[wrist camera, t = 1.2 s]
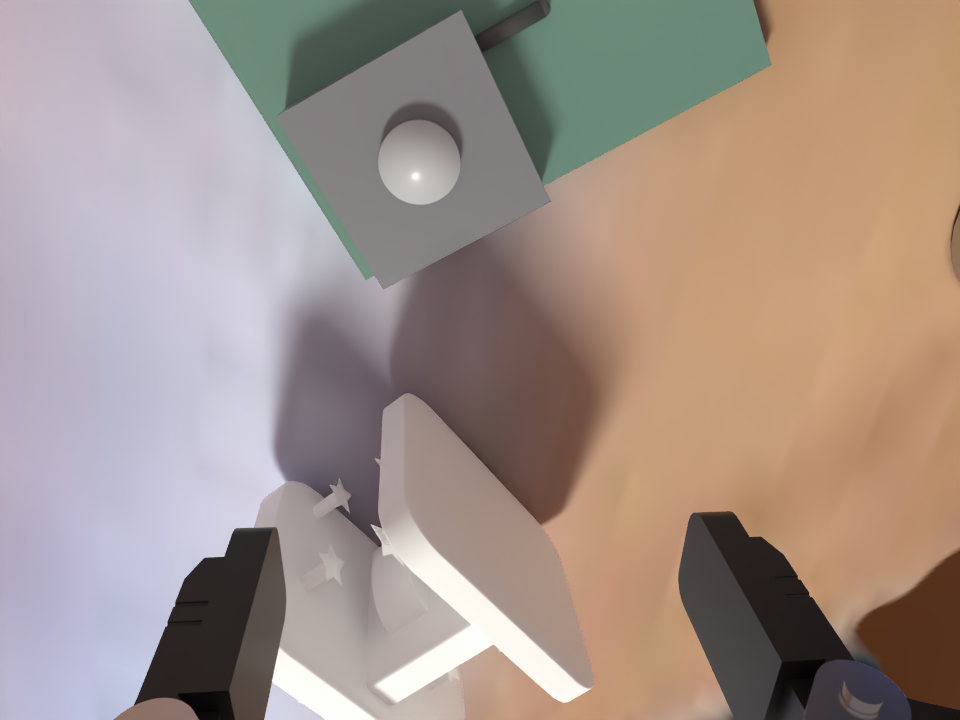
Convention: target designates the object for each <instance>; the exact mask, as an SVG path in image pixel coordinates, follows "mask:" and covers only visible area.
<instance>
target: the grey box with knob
mask: <svg viewBox="0 0 960 720" xmlns="http://www.w3.org/2000/svg"><path fill="white" fill-rule="evenodd" d="M276 118H277V120H278V122H279V123H280V125H281V126H282V128H283V130H284V131H285V133H286V134H287V136H288V138H289V139H290V141H291V142H292V144H293V146H294V147H295V149H296V150H297V152H298V154H299V155H300V157H301V158H302V160H303V162H304V163H305V165H306V166H307V168H308V170H309V171H310V173H311V174H312V176H313V178H314V179H315V181H316V182H317V184H318V186H319V187H320V189H321V190H322V192H323V194H324V195H325V197H326V198H327V200H328V202H329V203H330V205H331V206H332V208H333V210H334V211H335V213H336V214H337V216H338V218H339V219H340V221H341V222H342V224H343V226H344V227H345V229H346V230H347V232H348V234H349V235H350V237H351V238H352V240H353V242H354V243H355V245H356V246H357V248H358V250H359V251H360V253H361V254H362V256H363V258H364V259H365V261H366V262H367V264H368V266H369V267H370V269H371V270H372V272H373V274H374V275H375V277H376V278H377V280H378V282H379V283H380V285H381V286H382V288H383V289H385V288H387V287H389V286H391V285H393V284H395V283H396V282H398V281H400V280H402V279H404V278H406V277H408V276H410V275H412V274H414V273H416V272H417V271H419V270H421V269H423V268H425V267H427V266H429V265H431V264H433V263H435V262H436V261H438V260H440V259H442V258H444V257H446V256H448V255H450V254H452V253H454V252H455V251H457V250H459V249H461V248H463V247H465V246H467V245H469V244H471V243H473V242H474V241H476V240H478V239H480V238H482V237H484V236H486V235H488V234H490V233H492V232H493V231H495V230H497V229H499V228H501V227H503V226H505V225H507V224H509V223H511V222H512V221H514V220H516V219H518V218H520V217H522V216H524V215H526V214H528V213H530V212H531V211H533V210H535V209H537V208H539V207H541V206H543V205H545V204H547V203H549V202H550V199H549V197H548V194H547V192H546V190H545V188H544V186H543V184H542V182H541V179H540V177H539V175H538V173H537V171H536V169H535V167H534V164H533V162H532V160H531V158H530V156H529V154H528V152H527V149H526V147H525V145H524V143H523V141H522V139H521V136H520V134H519V132H518V130H517V128H516V126H515V124H514V121H513V119H512V117H511V115H510V113H509V111H508V109H507V106H506V104H505V102H504V100H503V98H502V96H501V94H500V91H499V89H498V87H497V85H496V83H495V81H494V79H493V76H492V74H491V72H490V70H489V68H488V66H487V64H486V61H485V59H484V57H483V55H482V53H481V51H480V48H479V46H478V44H477V42H476V40H475V38H474V36H473V33H472V31H471V29H470V27H469V25H468V23H467V21H466V18H465V16H464V14H463V12H462V10H455V11H453V12H452V13H450V14H448V15H446V16H445V17H443V18H441V19H439V20H438V21H436V22H434V23H432V24H431V25H429V26H427V27H425V28H424V29H422V30H420V31H419V32H417V33H415V34H413V35H412V36H410V37H408V38H406V39H405V40H403V41H401V42H399V43H398V44H396V45H394V46H392V47H391V48H389V49H387V50H385V51H384V52H382V53H380V54H379V55H377V56H375V57H373V58H372V59H370V60H368V61H366V62H365V63H363V64H361V65H359V66H358V67H356V68H354V69H352V70H351V71H349V72H347V73H346V74H344V75H342V76H340V77H339V78H337V79H335V80H333V81H332V82H330V83H328V84H326V85H325V86H323V87H321V88H319V89H318V90H316V91H314V92H312V93H311V94H309V95H307V96H306V97H304V98H302V99H300V100H299V101H297V102H295V103H293V104H292V105H290V106H288V107H286V108H285V109H284V110H283V111H281V112H280V113H279V114H278V115H277V116H276Z"/></svg>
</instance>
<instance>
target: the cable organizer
mask: <svg viewBox="0 0 960 720" xmlns="http://www.w3.org/2000/svg"><path fill="white" fill-rule="evenodd" d="M375 460H376V462H377V463H378V465H379V466H380V480H379V501H378V514H379V519H380V523H381V526H382V528H379V527H377V526H374V525H372V524H370V525H371V526H372V528H373V529H374V531H375V533H376V534H377V536H378V537H379V539H380V540H381V542H382V546H381V547H378V546H377V545H376V544H375V543H374V542H373V541H372V540H371V539H369V538H368V537H367V536H366V535H365V534H364V533H363V532H362V531H360V530H359V529H358V528H357V527H356V526H355V525H354V524H353V523H351V522H350V521H349V520H348V519H347V518H346V517H345V516H344V515H342V514H341V513H340V512H339V511H338V510H337V509H336V507H338V506H340V505H343V506H344V507H345V509H346V510H347V511H348V512H349V513H350V511H349V507H348V502H347V501H348V499H349V498H350V497H351V494H350V493H348V492H347V491H345V490H344V488H343V486H342V483H341V480H340V478H339V480H338V484H337V486H334V485H330V484H329V485H330V487H331V489H332V490H333V493H332V494H330V495H329V496H327V497H326V498H323V497H322V496H321V495H320V494H319V493H318V492H316V491H315V490H314V489H312V488H311V487H309V486H307V485H305V484H303V483H301V482H297V481H288V482H286V483H285V484H283V485H282V486H280V487H279V488H278V489H276V490H275V491H274V492H272V493H271V494H269V495H268V496H267V497H265V498H264V499H263V500H262V503H261V505H260V509H259V512H258V516H257V519H256V523H255V526H254V528H261V527H276V528H277V530H278V534H279V541H280V548H281V555H282V563H283V570H284V578H285V585H286V613H285V621H284V626H283V631H282V636H281V640H280V645H279V650H278V655H277V659H276V664H275V669H274V674H273V679H272V682H273V683H274V684H276V685H277V686H278V687H280V688H281V689H283V690H284V691H286V692H287V693H288V694H290V695H291V696H293V697H294V698H296V699H297V700H298V702H299V703H303V704H304V705H306V706H307V707H308V708H310V709H311V710H313V711H314V712H316V713H317V714H318V715H320V716H321V717H323V718H324V719H326V720H466V717H465V706H464V695H463V683H462V672H461V664H462V663H463V662H465V661H467V660H468V659H470V658H472V657H473V656H475V655H476V654H478V653H480V652H481V651H483V650H485V649H486V648H488V647H490V646H491V645H493V644H494V645H495V646H496V647H497V648H498V649H499V652H500V651H502V652H503V653H504V654H505V655H506V656H507V657H508V658H509V659H511V660H512V661H513V662H514V663H515V664H516V665H517V666H518V667H520V668H521V669H522V670H523V671H524V672H525V673H526V674H527V675H528V676H530V677H531V678H532V679H533V680H534V681H535V682H536V683H537V684H539V685H540V686H541V687H542V688H543V689H544V690H545V691H546V692H548V693H549V694H550V695H551V696H552V697H554V698H555V699H557V700H559V701H561V702H569V701H571V700H572V699H574V698H576V697H578V696H579V695H581V694H583V693H585V692H586V691H588V690H590V689H591V688H592V687H593V685H594V675H593V670H592V667H591V663H590V660H589V656H588V653H587V649H586V646H585V642H584V639H583V635H582V632H581V628H580V625H579V621H578V618H577V614H576V611H575V607H574V604H573V600H572V597H571V593H570V590H569V586H568V583H567V579H566V576H565V572H564V569H563V565H562V562H561V559H560V556H559V554H558V552H557V550H556V548H555V546H554V544H553V542H552V541H551V539H550V537H549V536H548V534H547V533H546V532H545V530H544V529H543V528H542V526H541V525H540V524H539V523H538V522H537V520H536V519H535V518H534V517H533V516H532V515H531V514H530V513H529V512H528V511H527V510H526V509H525V508H524V507H523V505H522V504H521V503H520V502H519V501H518V500H517V499H516V498H515V497H514V496H513V495H512V494H511V493H510V492H509V491H508V490H507V488H506V487H505V486H504V485H503V484H502V483H501V482H500V481H499V480H498V479H497V478H496V477H495V476H494V475H493V474H492V473H491V471H490V470H489V469H488V468H487V467H486V466H485V465H484V464H483V463H482V462H481V461H480V460H479V459H478V458H477V457H476V455H475V454H474V453H473V452H472V451H471V450H470V449H469V448H468V447H467V446H466V445H465V444H464V443H463V442H462V441H461V440H460V438H459V437H458V436H457V435H456V434H455V433H454V432H453V431H452V430H451V429H450V428H449V427H448V426H447V425H446V424H445V423H444V421H443V420H442V419H441V418H440V417H439V416H438V415H437V414H436V413H435V412H434V411H433V410H432V409H431V408H430V407H429V406H428V405H427V404H426V403H425V402H424V401H422V400H421V399H420V398H418V397H417V396H415V395H413V394H410V393H405V394H404V395H402V396H401V397H399V398H398V399H397V400H395V401H394V402H392V403H391V404H390V405H388V406H387V407H385V408H384V410H383V417H382V438H381V459H380V460H379V459H377V458H375Z"/></svg>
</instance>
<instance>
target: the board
mask: <svg viewBox="0 0 960 720" xmlns="http://www.w3.org/2000/svg"><path fill="white" fill-rule="evenodd" d="M189 2H190V3H191V5H192V6H193V8H194V9H195V11H196V13H197V14H198V16H199V17H200V19H201V20H202V22H203V24H204V25H205V27H206V28H207V30H208V31H209V33H210V35H211V36H212V38H213V39H214V41H215V43H216V44H217V46H218V47H219V49H220V50H221V52H222V54H223V55H224V57H225V58H226V60H227V61H228V63H229V65H230V66H231V68H232V69H233V71H234V73H235V74H236V76H237V77H238V79H239V80H240V82H241V84H242V85H243V87H244V88H245V90H246V91H247V93H248V95H249V96H250V98H251V99H252V101H253V103H254V104H255V106H256V107H257V109H258V110H259V112H260V114H261V115H262V117H263V118H264V120H265V121H266V123H267V125H268V126H269V128H270V129H271V131H272V132H273V134H274V136H275V137H276V139H277V140H278V142H279V144H280V145H281V147H282V148H283V150H284V151H285V153H286V155H287V156H288V158H289V159H290V161H291V162H292V164H293V166H294V167H295V169H296V170H297V172H298V174H299V175H300V177H301V178H302V180H303V181H304V183H305V185H306V186H307V188H308V189H309V191H310V192H311V194H312V196H313V197H314V199H315V200H316V202H317V204H318V205H319V207H320V208H321V210H322V211H323V213H324V215H325V216H326V218H327V219H328V221H329V222H330V224H331V226H332V227H333V229H334V230H335V232H336V233H337V235H338V237H339V238H340V240H341V241H342V243H343V245H344V246H345V248H346V249H347V251H348V252H349V254H350V256H351V257H352V259H353V260H354V262H355V263H356V265H357V267H358V268H359V270H360V271H361V273H362V275H363V276H364V278H365V279H366V280H367V279H369V278H370V277H372V276H374V274H373V272H372V270H371V269H370V267H369V266H368V264H367V262H366V261H365V259H364V258H363V256H362V254H361V253H360V251H359V250H358V248H357V246H356V245H355V243H354V242H353V240H352V238H351V237H350V235H349V234H348V232H347V230H346V229H345V227H344V226H343V224H342V222H341V221H340V219H339V218H338V216H337V214H336V213H335V211H334V210H333V208H332V206H331V205H330V203H329V202H328V200H327V198H326V197H325V195H324V194H323V192H322V190H321V189H320V187H319V186H318V184H317V182H316V181H315V179H314V178H313V176H312V174H311V173H310V171H309V170H308V168H307V166H306V165H305V163H304V162H303V160H302V158H301V157H300V155H299V154H298V152H297V150H296V149H295V147H294V146H293V144H292V142H291V141H290V139H289V138H288V136H287V134H286V133H285V131H284V130H283V128H282V126H281V125H280V123H279V122H278V120H277V118H276V116H277V115H278V114H279V113H280V112H281V111H283V110H284V109H285V108H286V107H288V106H290V105H292V104H293V103H295V102H297V101H299V100H300V99H302V98H304V97H306V96H307V95H309V94H311V93H312V92H314V91H316V90H318V89H319V88H321V87H323V86H325V85H326V84H328V83H330V82H332V81H333V80H335V79H337V78H339V77H340V76H342V75H344V74H346V73H347V72H349V71H351V70H352V69H354V68H356V67H358V66H359V65H361V64H363V63H365V62H366V61H368V60H370V59H372V58H373V57H375V56H377V55H379V54H380V53H382V52H384V51H385V50H387V49H389V48H391V47H392V46H394V45H396V44H398V43H399V42H401V41H403V40H405V39H406V38H408V37H410V36H412V35H413V34H415V33H417V32H419V31H420V30H422V29H424V28H425V27H427V26H429V25H431V24H432V23H434V22H436V21H438V20H439V19H441V18H443V17H445V16H446V15H448V14H450V13H452V12H453V11H455V10H462V12H463V14H464V16H465V18H466V21H467V23H468V25H469V27H470V29H471V31H472V33H473V36H474V38H475V40H476V42H477V44H478V46H479V48H480V51H481V53H482V55H483V57H484V59H485V61H486V64H487V66H488V68H489V70H490V72H491V74H492V76H493V79H494V81H495V83H496V85H497V87H498V89H499V91H500V94H501V96H502V98H503V100H504V102H505V104H506V106H507V109H508V111H509V113H510V115H511V117H512V119H513V121H514V124H515V126H516V128H517V130H518V132H519V134H520V136H521V139H522V141H523V143H524V145H525V147H526V149H527V152H528V154H529V156H530V158H531V160H532V162H533V164H534V167H535V169H536V171H537V173H538V175H539V177H540V179H541V182H542V184H543V186H544V185H546V184H548V183H550V182H552V181H553V180H555V179H557V178H559V177H561V176H563V175H565V174H567V173H569V172H570V171H572V170H574V169H576V168H578V167H580V166H582V165H584V164H586V163H587V162H589V161H591V160H593V159H595V158H597V157H599V156H601V155H603V154H604V153H606V152H608V151H610V150H612V149H614V148H616V147H618V146H620V145H621V144H623V143H625V142H627V141H629V140H631V139H633V138H635V137H637V136H638V135H640V134H642V133H644V132H646V131H648V130H650V129H652V128H654V127H655V126H657V125H659V124H661V123H663V122H665V121H667V120H669V119H671V118H672V117H674V116H676V115H678V114H680V113H682V112H684V111H686V110H687V109H689V108H691V107H693V106H695V105H697V104H699V103H701V102H703V101H704V100H706V99H708V98H710V97H712V96H714V95H716V94H718V93H720V92H721V91H723V90H725V89H727V88H729V87H731V86H733V85H735V84H737V83H738V82H740V81H742V80H744V79H746V78H748V77H750V76H752V75H754V74H755V73H757V72H759V71H761V70H763V69H765V68H767V67H769V66H771V62H770V58H769V55H768V51H767V48H766V44H765V41H764V37H763V33H762V30H761V26H760V23H759V19H758V16H757V12H756V8H755V5H754V1H753V0H189Z"/></svg>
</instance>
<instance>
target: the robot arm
mask: <svg viewBox="0 0 960 720" xmlns="http://www.w3.org/2000/svg"><path fill="white" fill-rule="evenodd" d="M951 253H952V264H953V267H954V270H955V273H956V276H957V278H958V279H959V281H960V212H959V215H958V218H957V220H956V223H955V226H954V230H953V236H952V243H951ZM678 581H679V590H680V595H681V599H682V602H683V605H684V607H685V610H686V612H687V614H688V616H689V618H690V621H691V623H692V625H693V627H694V630H695V632H696V634H697V636H698V638H699V641H700V643H701V645H702V647H703V650H704V652H705V654H706V656H707V658H708V661H709V663H710V665H711V667H712V670H713V672H714V674H715V676H716V679H717V681H718V683H719V685H720V687H721V690H722V692H723V694H724V696H725V699H726V701H727V703H728V705H729V707H730V710H731V712H732V714H733V716H734V719H735V720H960V710H956V709H952V708H947V707H942V706H938V705H933V704H929V703H925V702H920V701H916V700H912V699H909V698H906V697H905V695H904V694H903V692H902V691H901V690H900V689H899V688H898V686H897V685H896V684H895V683H893V682H892V681H891V680H890V679H889V678H888V677H886V676H885V675H884V674H882V673H881V672H879V671H877V670H876V669H874V668H872V667H870V666H868V665H865V664H862V663H859V662H855V660H854V659H853V657H852V656H851V654H850V653H849V651H848V650H847V648H846V647H845V645H844V644H843V642H842V641H841V639H840V638H839V636H838V635H837V633H836V632H835V631H834V629H833V628H832V626H831V625H830V623H829V622H828V620H827V619H826V617H825V616H824V614H823V613H822V611H821V610H820V608H819V607H818V605H817V604H816V602H815V601H814V599H813V598H812V597H810V596H809V592H808V590H807V589H806V587H805V586H804V584H803V583H802V581H801V580H798V575H797V574H796V572H795V571H794V570H793V568H792V567H791V565H790V564H789V562H788V561H787V559H786V558H785V556H784V555H783V554H782V553H781V552H780V551H778V550H777V549H776V548H775V547H773V546H772V545H771V544H769V543H768V542H767V541H766V540H764V539H763V538H762V537H749V535H748V534H747V532H746V531H745V529H744V527H743V526H742V524H741V523H740V521H739V519H738V518H737V516H736V515H735V514H734V513H733V512H730V511H727V512H700V513H693V514H692V515H691V516H690V519H689V522H688V527H687V532H686V537H685V542H684V547H683V552H682V558H681V563H680V568H679V576H678ZM285 613H286V585H285V578H284V570H283V563H282V555H281V548H280V541H279V534H278V530H277V528H276V527H261V528H236V529H235V530H234V531H233V533H232V536H231V539H230V542H229V545H228V548H227V551H226V554H225V557H213V558H204V559H203V560H202V561H201V562H200V563H199V564H198V565H197V566H196V567H195V568H194V570H193V571H192V572H191V573H190V574H189V575H188V576H187V577H186V578H185V579H184V582H183V584H182V587H181V589H180V592H179V594H178V597H177V599H176V602H175V607H173V609H172V612H171V615H170V617H169V620H168V625H167V627H165V630H164V632H163V635H162V637H161V640H160V642H159V645H158V647H157V650H156V652H155V655H154V657H153V660H152V662H151V665H150V667H149V670H148V672H147V675H146V677H145V680H144V682H143V685H142V687H141V690H140V692H139V695H138V697H137V700H136V702H135V704H134V706H133V707H130V708H129V709H127V710H126V711H124V712H123V713H121V714H120V715H119V716H118V717H116V718H115V719H114V720H264V717H265V712H266V707H267V703H268V698H269V693H270V688H271V683H272V679H273V674H274V669H275V664H276V659H277V655H278V650H279V645H280V640H281V636H282V631H283V626H284V621H285Z"/></svg>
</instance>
